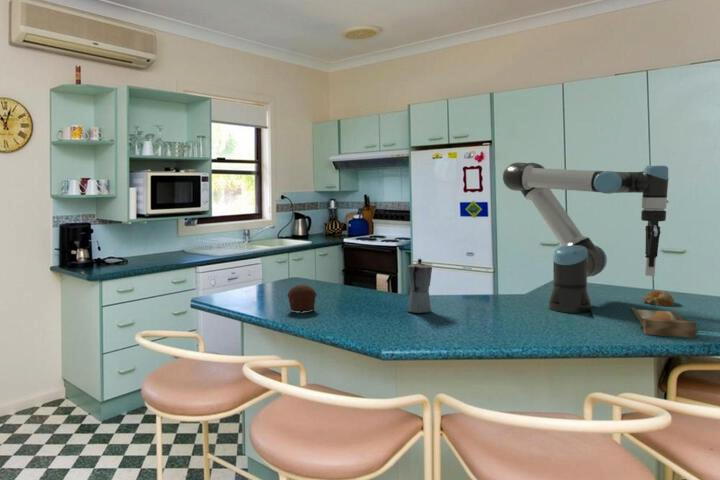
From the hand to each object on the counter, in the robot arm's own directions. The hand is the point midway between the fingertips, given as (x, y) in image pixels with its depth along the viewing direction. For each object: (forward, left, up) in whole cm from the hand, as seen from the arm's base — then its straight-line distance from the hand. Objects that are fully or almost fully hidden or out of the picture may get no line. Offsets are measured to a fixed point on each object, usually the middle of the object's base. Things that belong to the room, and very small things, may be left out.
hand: (649, 275), depth 178 cm
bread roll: (+5, +11, -14) cm, 19 cm away
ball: (-1, -23, -11) cm, 25 cm away
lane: (+1, -17, -14) cm, 22 cm away
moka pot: (-79, -21, -14) cm, 83 cm away
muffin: (-123, -32, -14) cm, 128 cm away
